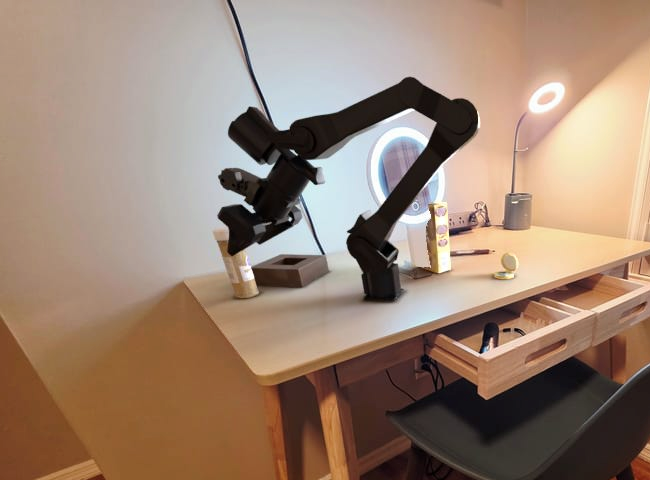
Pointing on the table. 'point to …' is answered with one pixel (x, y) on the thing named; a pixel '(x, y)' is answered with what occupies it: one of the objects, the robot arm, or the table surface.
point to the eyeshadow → (507, 266)
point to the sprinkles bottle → (236, 267)
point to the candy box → (438, 238)
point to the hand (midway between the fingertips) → (244, 248)
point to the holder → (290, 270)
